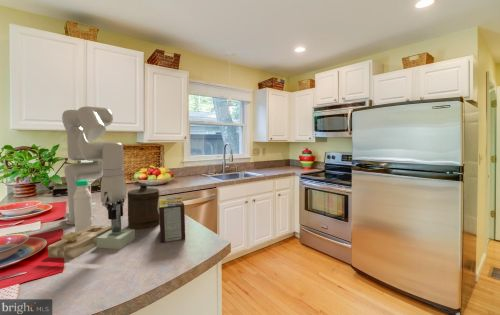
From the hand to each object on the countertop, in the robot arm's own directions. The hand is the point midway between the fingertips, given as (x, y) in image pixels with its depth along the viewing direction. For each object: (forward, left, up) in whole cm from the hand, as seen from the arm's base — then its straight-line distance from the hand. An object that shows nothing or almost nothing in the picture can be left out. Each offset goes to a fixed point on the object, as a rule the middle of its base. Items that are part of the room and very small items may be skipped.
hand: (115, 217), depth 101 cm
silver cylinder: (0, 0, -6) cm, 6 cm away
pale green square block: (0, 0, -12) cm, 12 cm away
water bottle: (-24, +11, -12) cm, 29 cm away
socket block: (-12, -3, -12) cm, 17 cm away
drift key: (-12, -9, -10) cm, 18 cm away
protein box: (+18, +13, -12) cm, 25 cm away
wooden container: (-1, +23, -12) cm, 26 cm away
